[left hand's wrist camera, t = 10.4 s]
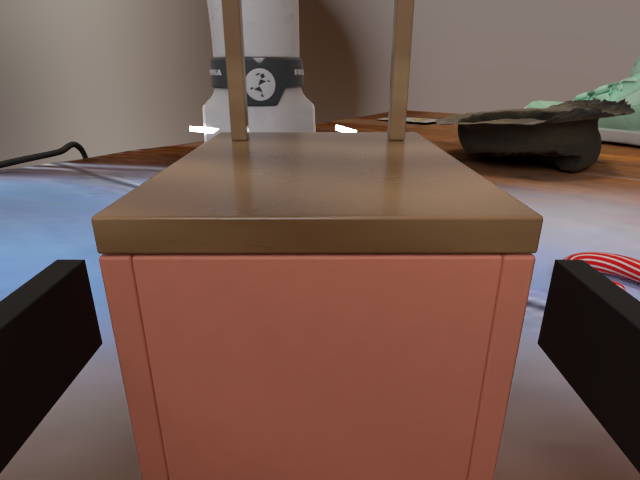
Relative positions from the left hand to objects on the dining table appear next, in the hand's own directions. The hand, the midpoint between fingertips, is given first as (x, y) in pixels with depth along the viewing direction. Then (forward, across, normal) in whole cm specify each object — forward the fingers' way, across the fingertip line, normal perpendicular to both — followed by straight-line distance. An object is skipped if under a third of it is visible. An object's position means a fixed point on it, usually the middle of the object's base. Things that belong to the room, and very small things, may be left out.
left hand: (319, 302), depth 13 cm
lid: (+5, 0, +2) cm, 5 cm away
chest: (+4, 0, -7) cm, 8 cm away
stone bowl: (+54, +29, -7) cm, 62 cm away
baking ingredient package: (+107, +23, -7) cm, 110 cm away
